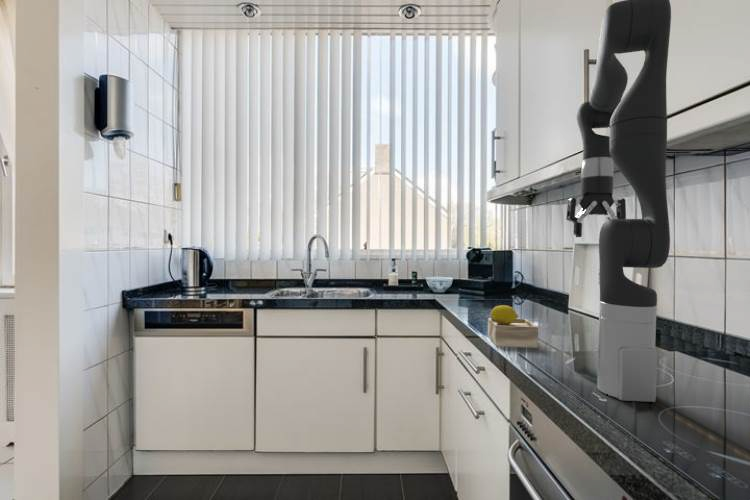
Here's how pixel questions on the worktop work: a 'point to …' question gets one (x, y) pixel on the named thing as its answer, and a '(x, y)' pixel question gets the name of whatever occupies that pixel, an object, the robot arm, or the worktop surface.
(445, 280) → the chinaware
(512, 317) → the lemon
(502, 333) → the wooden box
